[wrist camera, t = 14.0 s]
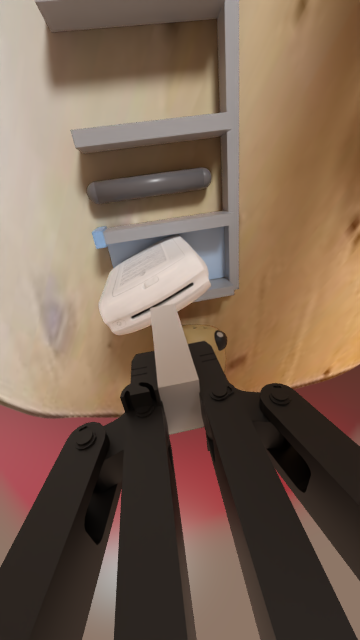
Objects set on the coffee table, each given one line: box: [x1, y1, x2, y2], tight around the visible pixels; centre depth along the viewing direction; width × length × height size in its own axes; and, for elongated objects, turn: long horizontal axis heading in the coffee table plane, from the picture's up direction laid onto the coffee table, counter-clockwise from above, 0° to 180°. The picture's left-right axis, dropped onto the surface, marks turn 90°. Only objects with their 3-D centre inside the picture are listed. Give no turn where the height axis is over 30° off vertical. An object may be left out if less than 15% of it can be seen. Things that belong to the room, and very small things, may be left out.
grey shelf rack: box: [35, 0, 239, 302], centre depth 24 cm, size 26×16×4 cm, turn 7°
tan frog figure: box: [182, 325, 227, 372], centre depth 31 cm, size 10×12×11 cm
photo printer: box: [99, 234, 211, 335], centre depth 24 cm, size 10×4×12 cm, turn 117°
